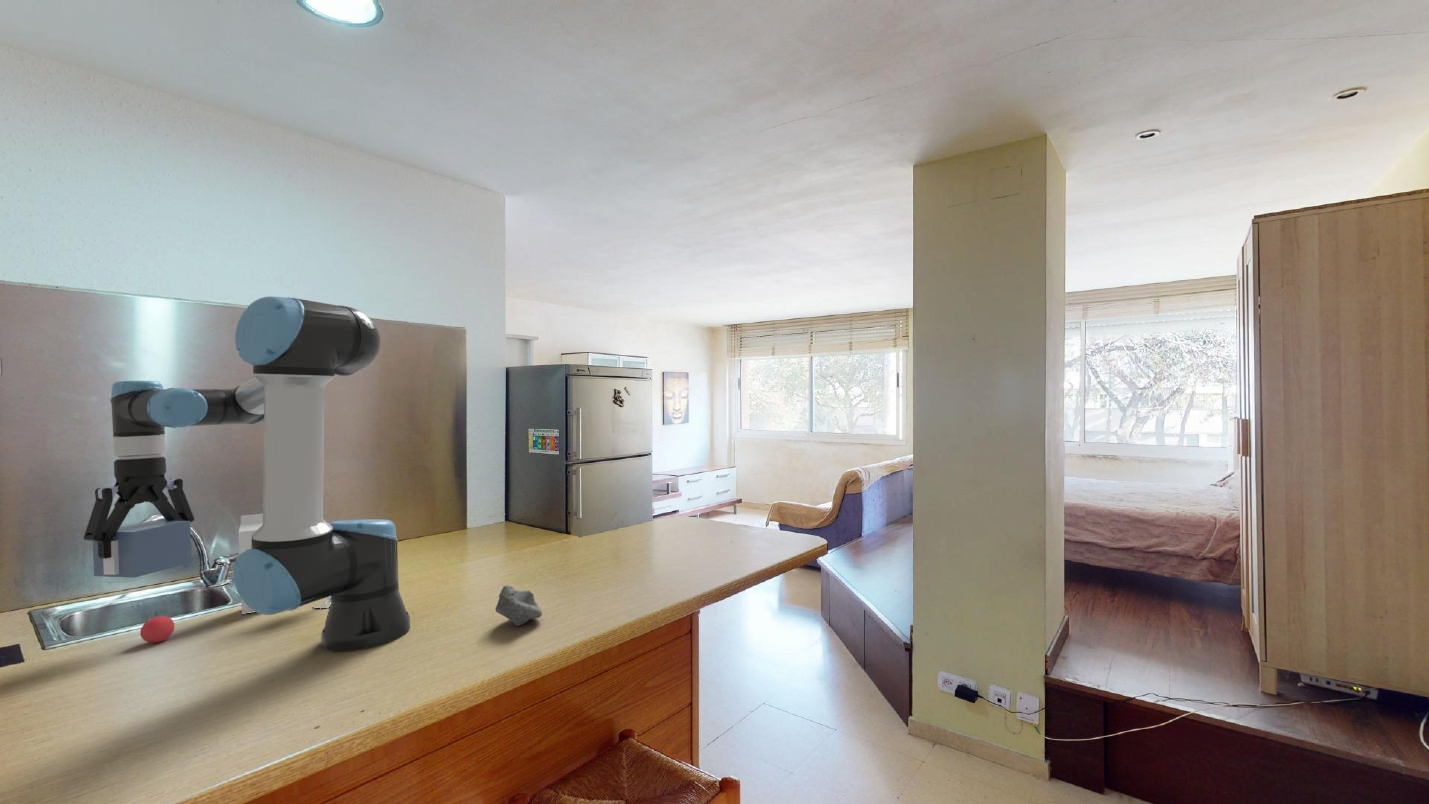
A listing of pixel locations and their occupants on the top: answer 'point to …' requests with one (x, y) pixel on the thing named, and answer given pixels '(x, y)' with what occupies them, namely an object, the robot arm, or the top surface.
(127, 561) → the blue gray block
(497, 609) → the grey rock
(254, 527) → the milk
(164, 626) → the ball
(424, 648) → the top surface
